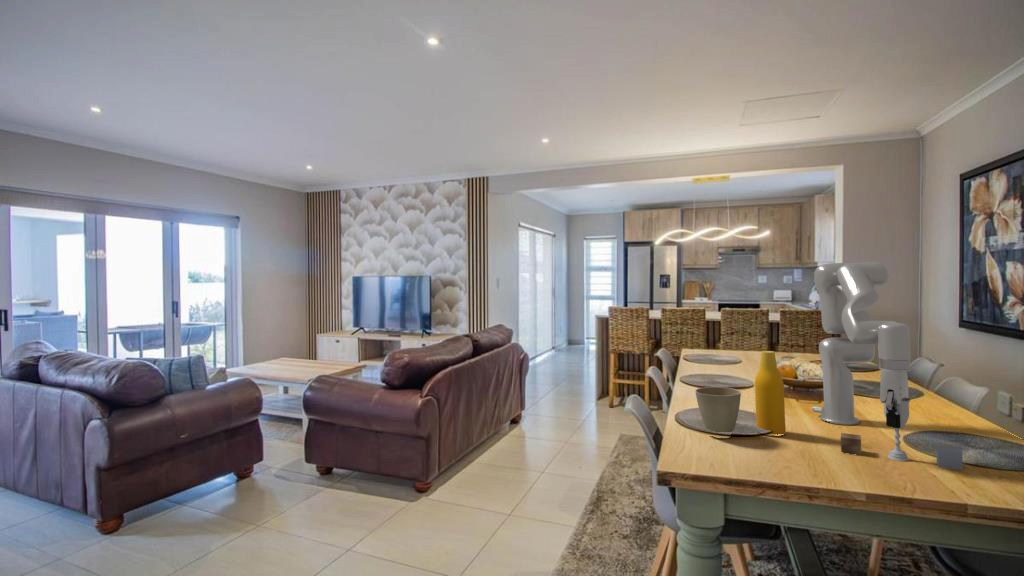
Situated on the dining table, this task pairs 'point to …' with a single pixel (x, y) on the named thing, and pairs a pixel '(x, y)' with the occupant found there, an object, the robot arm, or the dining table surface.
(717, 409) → the plant pot
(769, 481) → the dining table surface
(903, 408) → the chalice
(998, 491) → the dining table surface
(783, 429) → the beer bottle
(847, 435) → the walnut block
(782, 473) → the dining table surface
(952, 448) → the slate block
